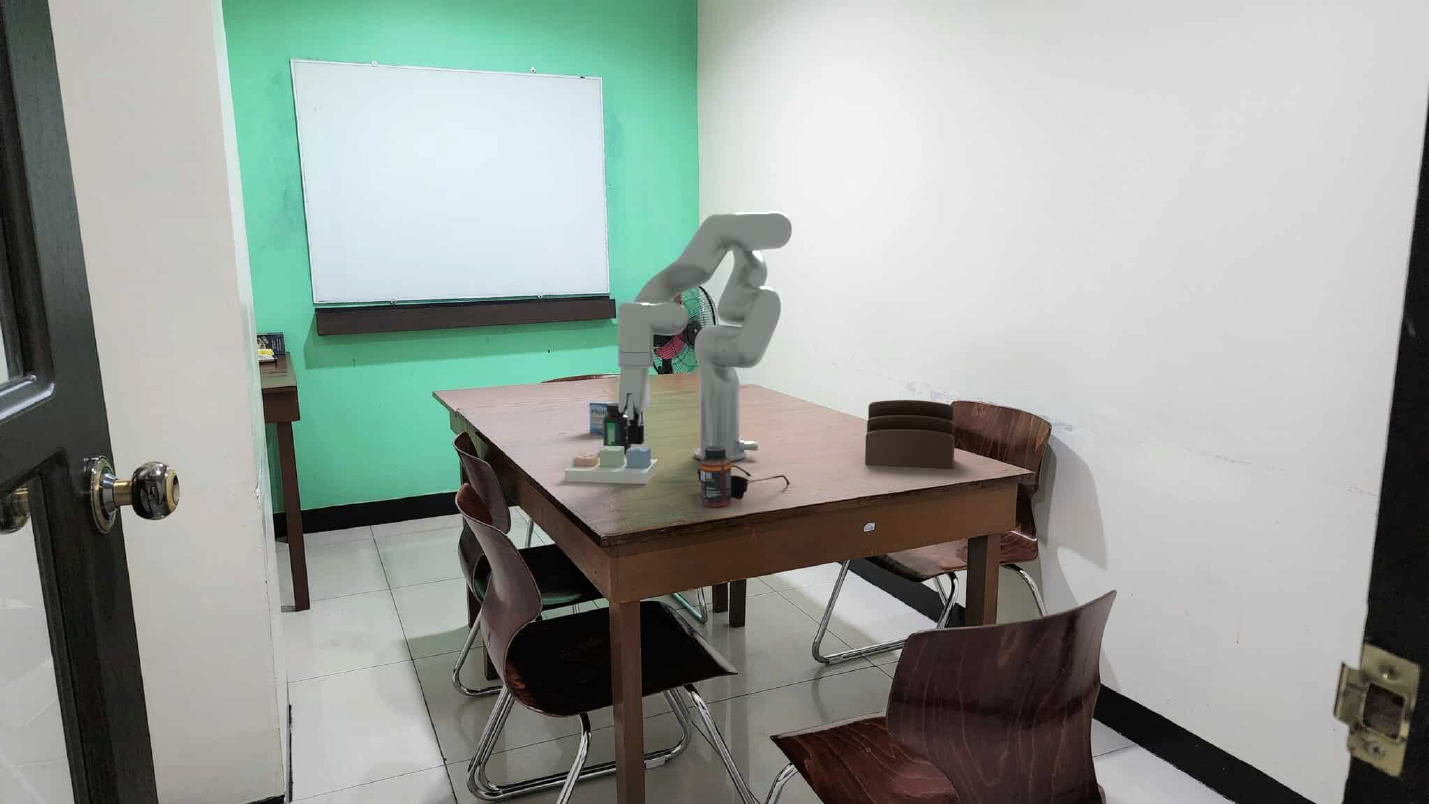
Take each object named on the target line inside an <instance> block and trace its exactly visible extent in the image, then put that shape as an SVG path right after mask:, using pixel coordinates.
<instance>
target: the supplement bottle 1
mask: <svg viewBox="0 0 1429 804" xmlns="http://www.w3.org/2000/svg"><path fill="white" fill-rule="evenodd" d="M618 406H619V403H609V404H607V405H606V409H607V410H606V412H607V415H605V416H604V418H603V434H602V438H603V439H602V440H603V441H602V442H603V444H602V445H603V447H604V446H624V455H626V451H627V450H628V449H629V448H630V447H632V444H629V443H628V420H627V411H625V412H624V413H620V412H619V410H618Z"/></svg>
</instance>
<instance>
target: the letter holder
mask: <svg viewBox="0 0 1429 804" xmlns="http://www.w3.org/2000/svg"><path fill="white" fill-rule="evenodd" d="M867 412H868V413H867V415H868V418H867V422H866V435H865V451H864V452H865V457H864V459H865V460H864V461H865V462H864V465H868V466H885V465H887V466H889V467H890V466H891V467H911V468H929V469H930V468H931V469H933V468H934V469H948V470H949V469H954V468H955V467H954V466H955V442H956V441H955V422H954V421H955V408H954V406H953V405H951V404H948V403H942V402H938V401H931V400H930V401H929V400H919V399H917V400H916V399H902V400H901V399H895V400H881V401H880V400H879V401H872V402H870V403H869V405H868V411H867Z"/></svg>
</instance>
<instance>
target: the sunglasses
mask: <svg viewBox="0 0 1429 804" xmlns="http://www.w3.org/2000/svg"><path fill="white" fill-rule="evenodd" d="M731 468H737V469H738V470H739V471H742V472H743V473H745V475H746V476H747V477H752V474H750V473H749V472H747V471H746V470H744V469H743V468H741V467H740V466H739V465H734V464H731ZM696 473H697V474H698V475H697V476H698V482H700V483H701V468H697V469H696ZM778 478H783V479H784V480H785V482H786V485H787V486H788V485H790V484H791V482H790V481H789V479H788V478H787V477H786V476H785V475H775V476H770V477H765V478H760V479H751V480H750V479H748V478H746V477H743V476H740V475H734V474H733V475H732V474H731V496H732V498H733V499H737V500H743V498H744V496H745V493H746V492H747V491H748V485H749V484H752V483H755V482H761V481H767V480H773V479H778Z"/></svg>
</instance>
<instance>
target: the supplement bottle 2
mask: <svg viewBox="0 0 1429 804" xmlns="http://www.w3.org/2000/svg"><path fill="white" fill-rule="evenodd" d="M725 454H726V448H725V447H723V446H709V447H706V448H705V455H706V456H705V457H704V458H703V459H702V460H701V461H700V469H701V482H700V495H701V496H700V499H701V501H700V502H701V504H702V505H703V506H704V507H707V508H708V507H709V508H712V509H713V508H714V509H715V508H716V509H717V508H724V507H728V506H729V505H731V503H732V498H733V497H732V496H731V476H732V467H731V465H732V464H731V463H732V461H730V460H729V458H727V457H726V455H725Z"/></svg>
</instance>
